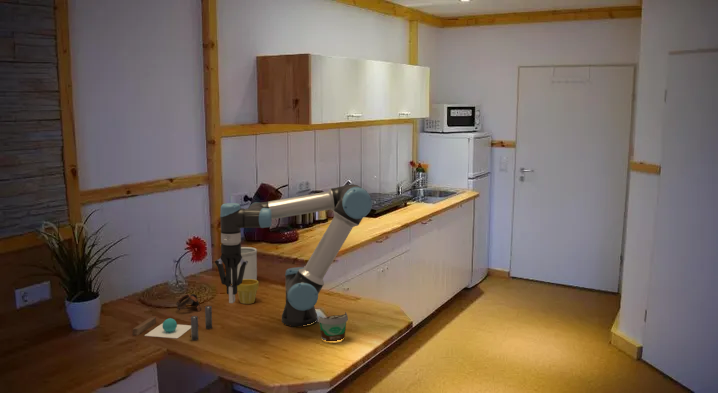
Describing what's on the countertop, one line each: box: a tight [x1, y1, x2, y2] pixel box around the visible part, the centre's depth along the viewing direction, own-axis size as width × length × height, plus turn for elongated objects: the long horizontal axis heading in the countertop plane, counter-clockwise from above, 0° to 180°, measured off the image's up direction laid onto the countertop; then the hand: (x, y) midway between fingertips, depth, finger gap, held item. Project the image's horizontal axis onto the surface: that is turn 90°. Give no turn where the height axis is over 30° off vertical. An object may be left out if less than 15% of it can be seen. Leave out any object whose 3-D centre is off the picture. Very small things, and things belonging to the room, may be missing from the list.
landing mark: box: [144, 322, 191, 339], centre depth 236 cm, size 14×14×1 cm
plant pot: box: [237, 279, 260, 305], centre depth 274 cm, size 10×10×10 cm
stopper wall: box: [132, 316, 157, 336], centre depth 238 cm, size 2×14×2 cm, turn 170°
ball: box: [162, 317, 177, 332], centre depth 235 cm, size 6×6×6 cm
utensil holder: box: [231, 246, 258, 283], centre depth 305 cm, size 15×15×18 cm
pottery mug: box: [176, 293, 202, 312], centre depth 262 cm, size 12×9×8 cm
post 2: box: [204, 305, 213, 330], centre depth 239 cm, size 3×3×9 cm
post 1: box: [190, 315, 199, 341], centre depth 227 cm, size 3×3×9 cm
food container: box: [317, 311, 349, 341], centre depth 227 cm, size 12×6×10 cm, turn 117°
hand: (232, 302), depth 230 cm, fingers closed
